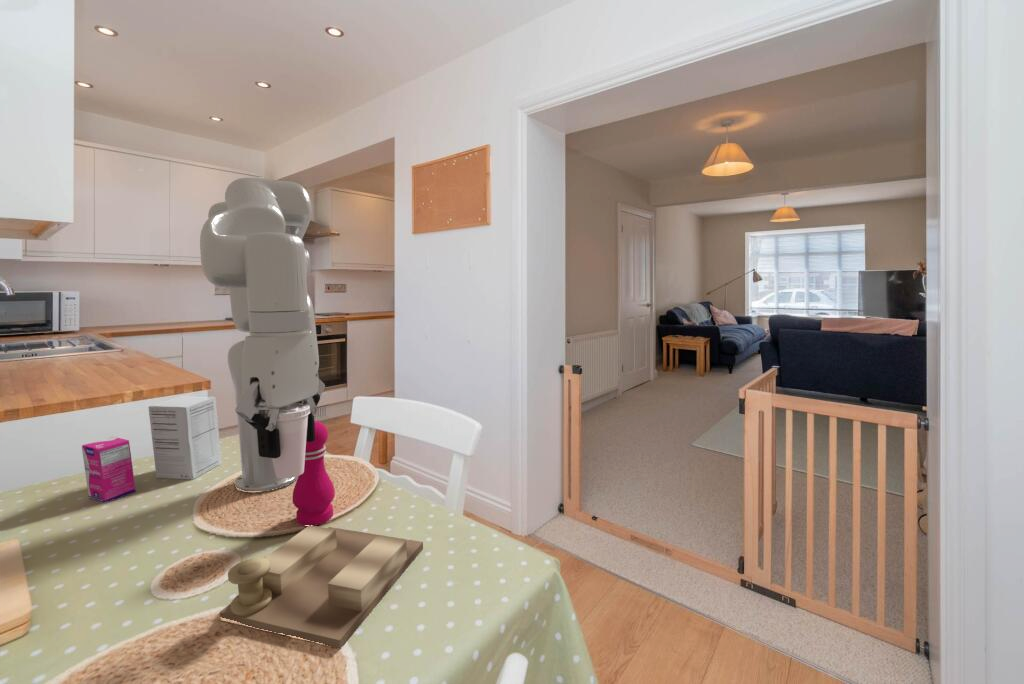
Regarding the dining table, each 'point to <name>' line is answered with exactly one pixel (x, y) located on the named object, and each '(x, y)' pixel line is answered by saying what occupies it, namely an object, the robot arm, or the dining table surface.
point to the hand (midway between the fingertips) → (288, 447)
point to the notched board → (319, 583)
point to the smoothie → (291, 440)
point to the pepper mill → (314, 483)
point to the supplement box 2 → (185, 437)
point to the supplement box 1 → (108, 468)
